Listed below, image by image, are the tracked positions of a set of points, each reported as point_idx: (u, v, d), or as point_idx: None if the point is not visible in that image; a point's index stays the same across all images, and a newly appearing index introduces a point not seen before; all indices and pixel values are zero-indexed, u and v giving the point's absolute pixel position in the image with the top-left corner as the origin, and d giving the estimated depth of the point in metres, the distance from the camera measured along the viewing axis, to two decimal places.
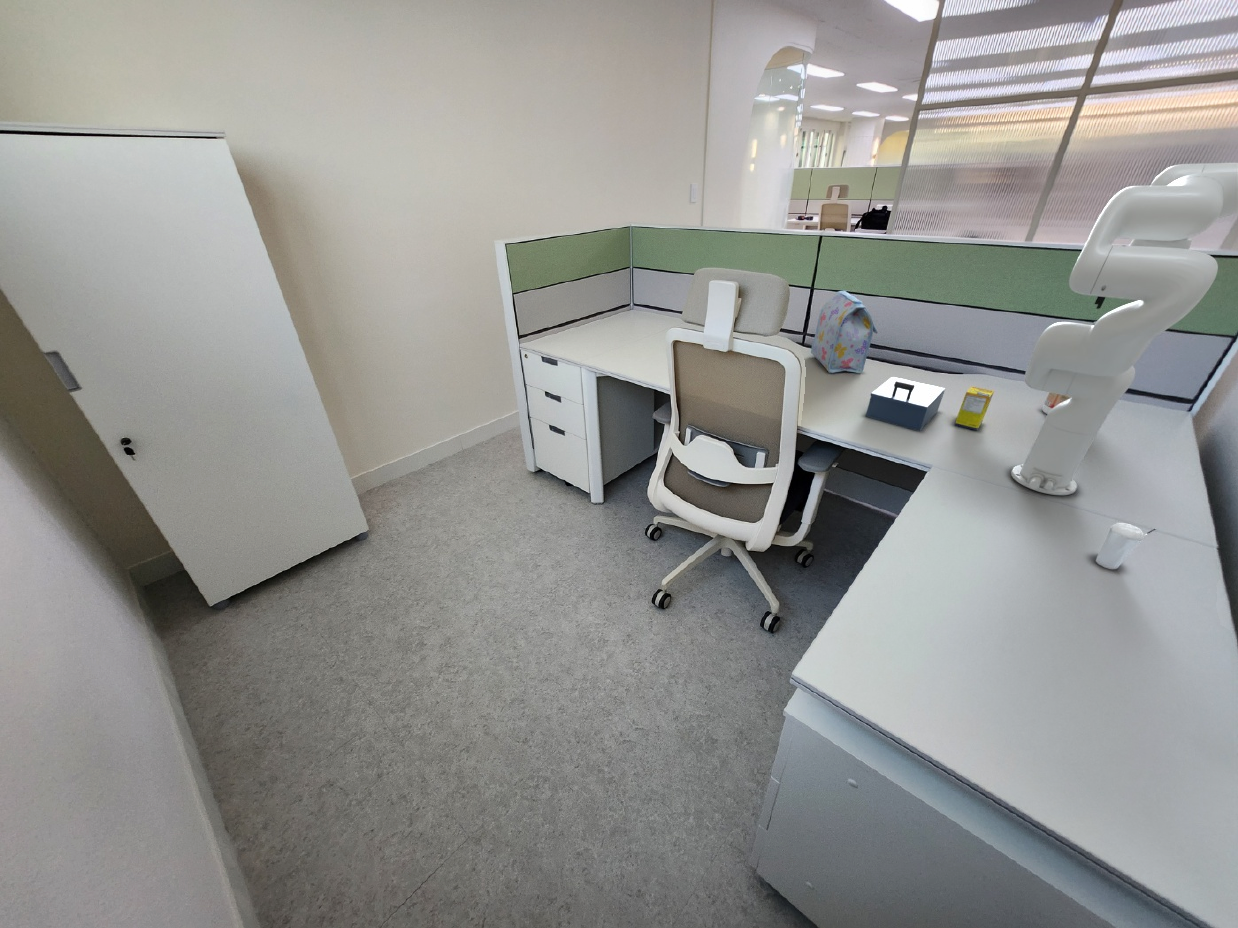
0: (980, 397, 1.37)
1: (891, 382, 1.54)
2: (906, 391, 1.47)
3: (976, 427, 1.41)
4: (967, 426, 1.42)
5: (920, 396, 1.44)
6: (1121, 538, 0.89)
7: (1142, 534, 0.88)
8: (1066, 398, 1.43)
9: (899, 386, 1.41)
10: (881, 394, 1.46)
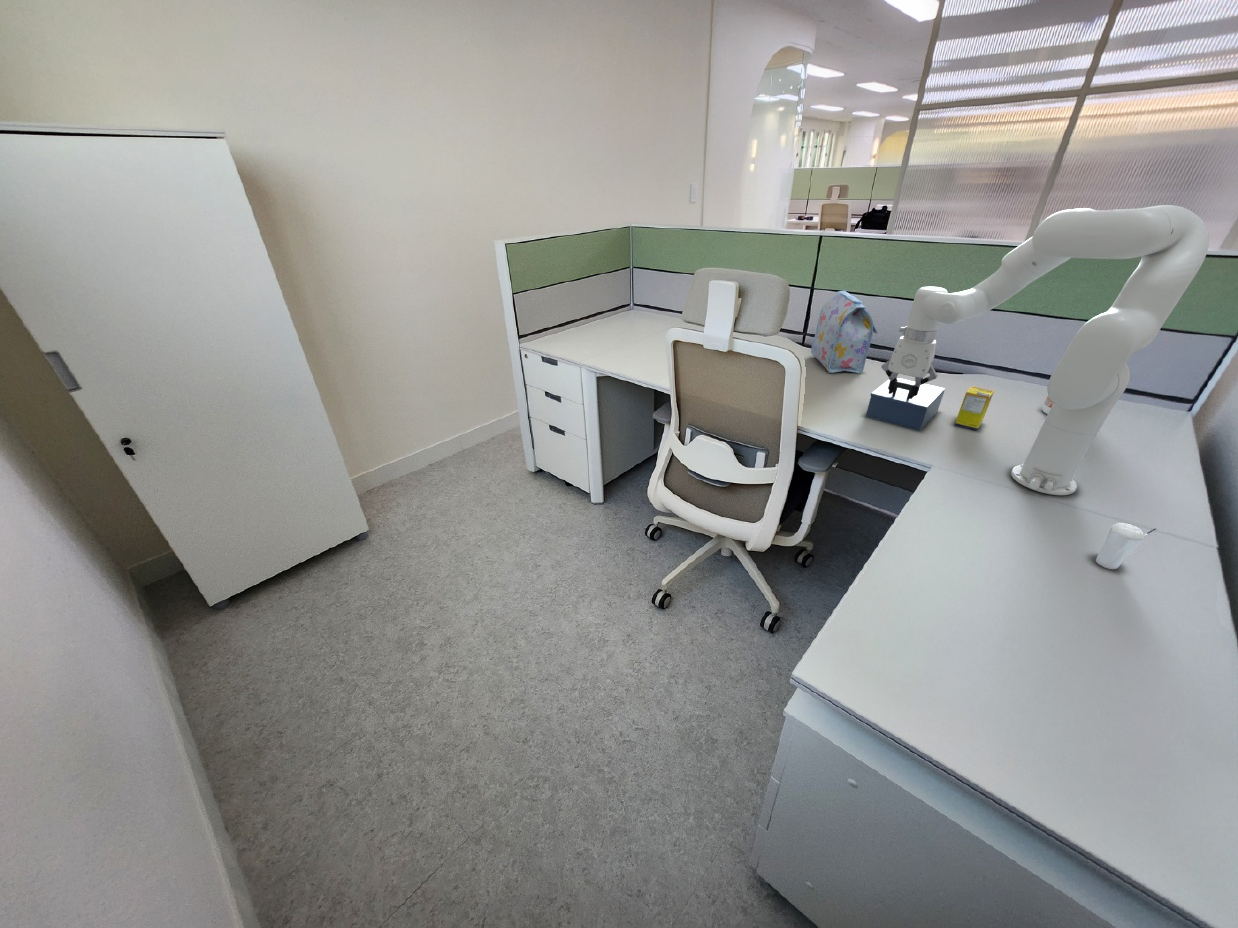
0: (980, 397, 1.37)
1: None
2: (906, 391, 1.47)
3: (976, 427, 1.41)
4: (967, 426, 1.42)
5: (920, 396, 1.44)
6: (1121, 538, 0.89)
7: (1142, 534, 0.88)
8: None
9: (899, 386, 1.41)
10: (881, 394, 1.46)
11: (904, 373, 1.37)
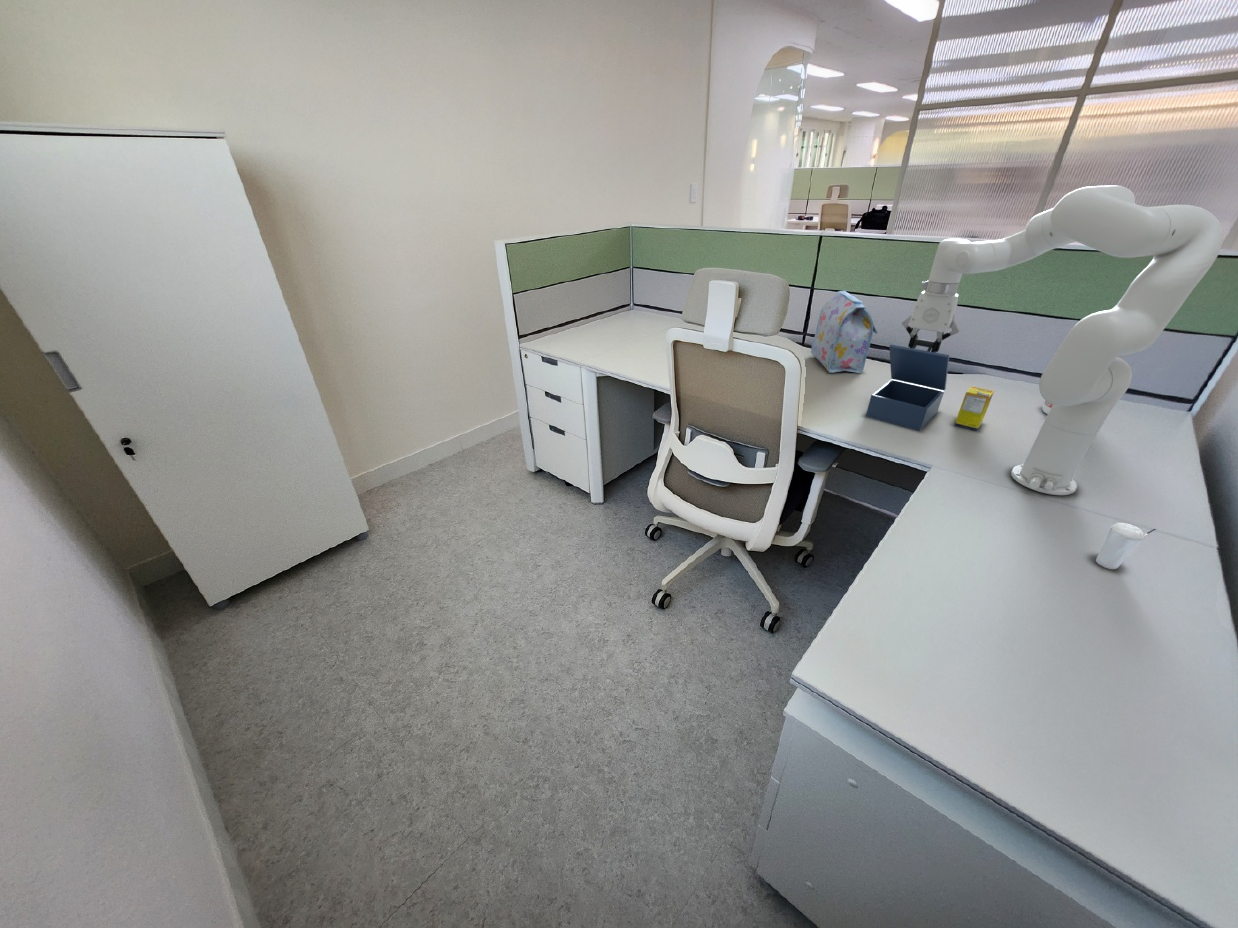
0: (980, 397, 1.37)
1: None
2: None
3: (976, 427, 1.41)
4: (967, 426, 1.42)
5: None
6: (1121, 538, 0.89)
7: (1142, 534, 0.88)
8: None
9: (920, 341, 1.41)
10: None
11: (925, 328, 1.37)
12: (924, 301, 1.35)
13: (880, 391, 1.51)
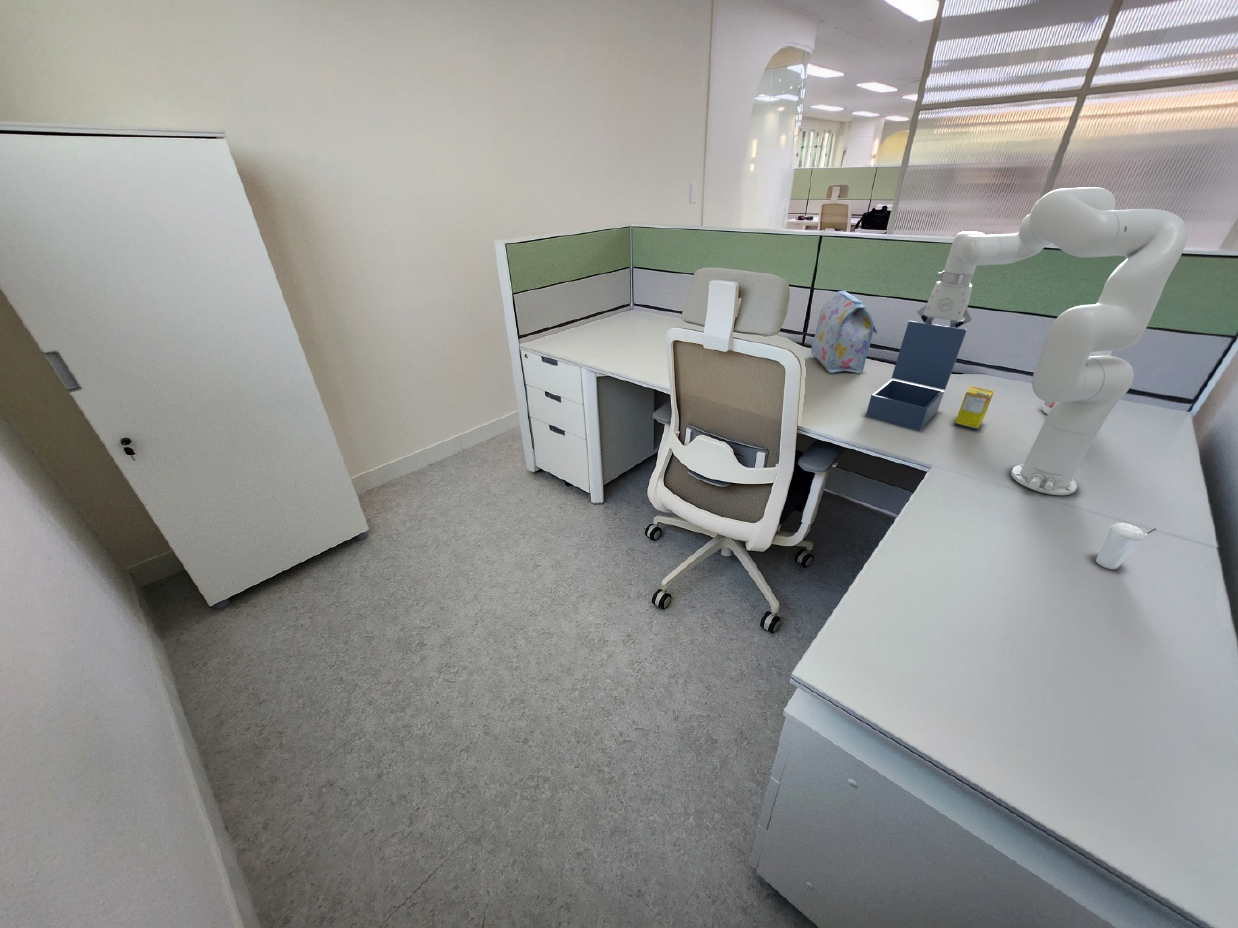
0: (980, 397, 1.37)
1: None
2: None
3: (976, 427, 1.41)
4: (967, 426, 1.42)
5: None
6: (1121, 538, 0.89)
7: (1142, 534, 0.88)
8: None
9: None
10: None
11: (940, 317, 1.45)
12: (939, 291, 1.42)
13: (880, 391, 1.51)
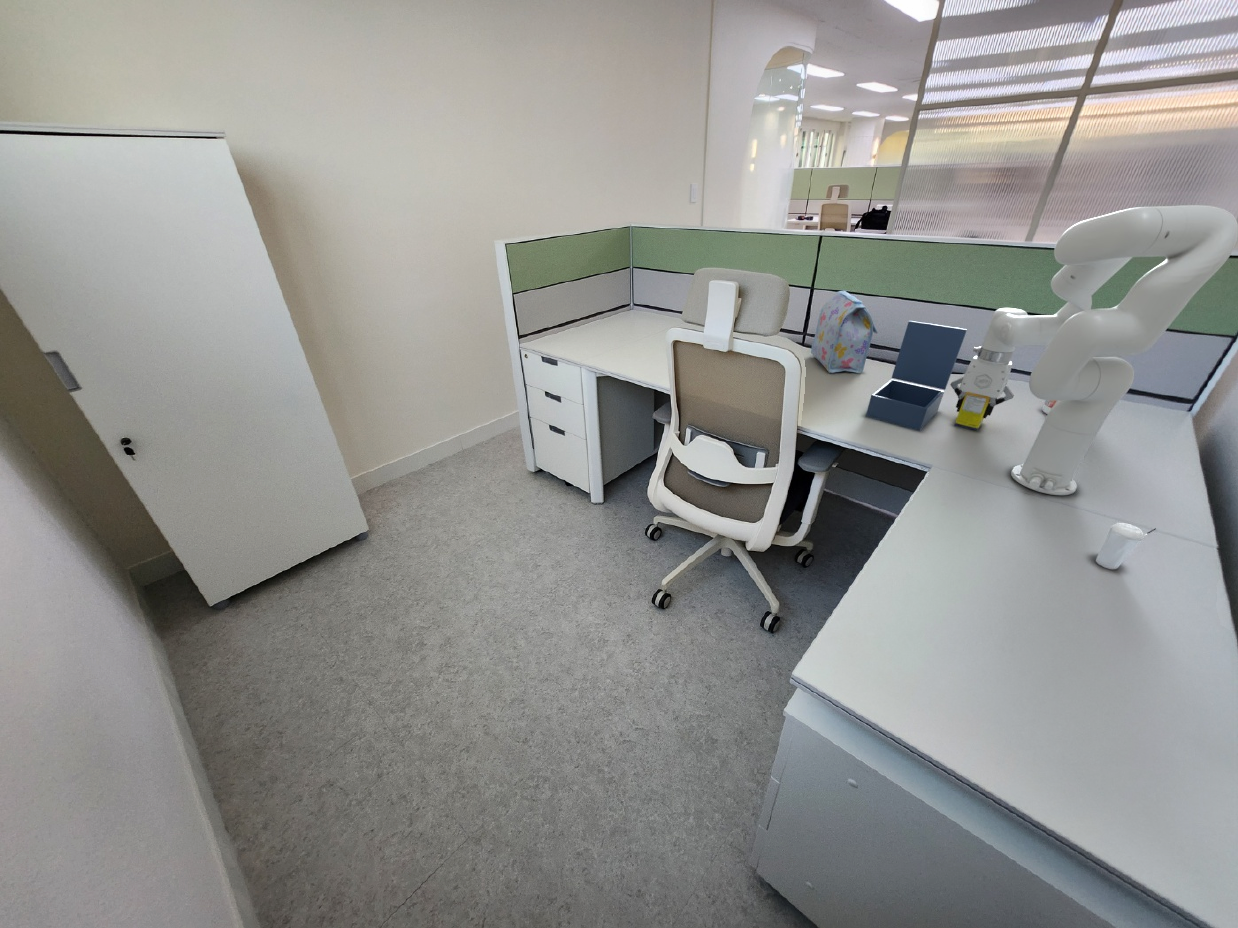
0: (980, 397, 1.37)
1: None
2: None
3: (976, 427, 1.41)
4: (967, 426, 1.42)
5: None
6: (1121, 538, 0.89)
7: (1142, 534, 0.88)
8: None
9: None
10: None
11: (977, 393, 1.37)
12: (976, 367, 1.35)
13: (880, 391, 1.51)
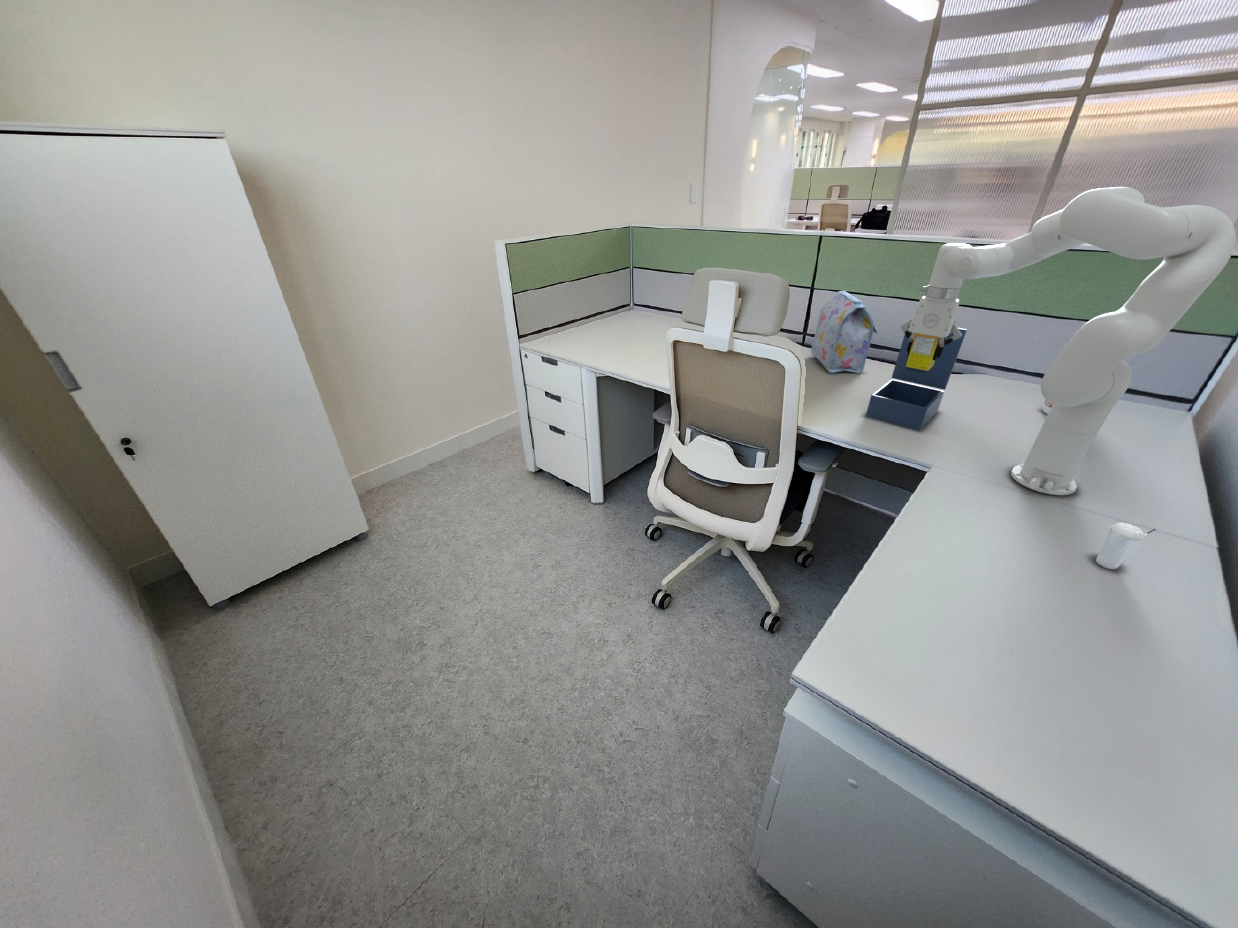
0: (929, 338, 1.35)
1: None
2: None
3: (926, 369, 1.39)
4: (917, 369, 1.40)
5: None
6: (1121, 538, 0.89)
7: (1142, 534, 0.88)
8: None
9: None
10: None
11: (926, 334, 1.35)
12: (924, 306, 1.33)
13: (880, 391, 1.51)
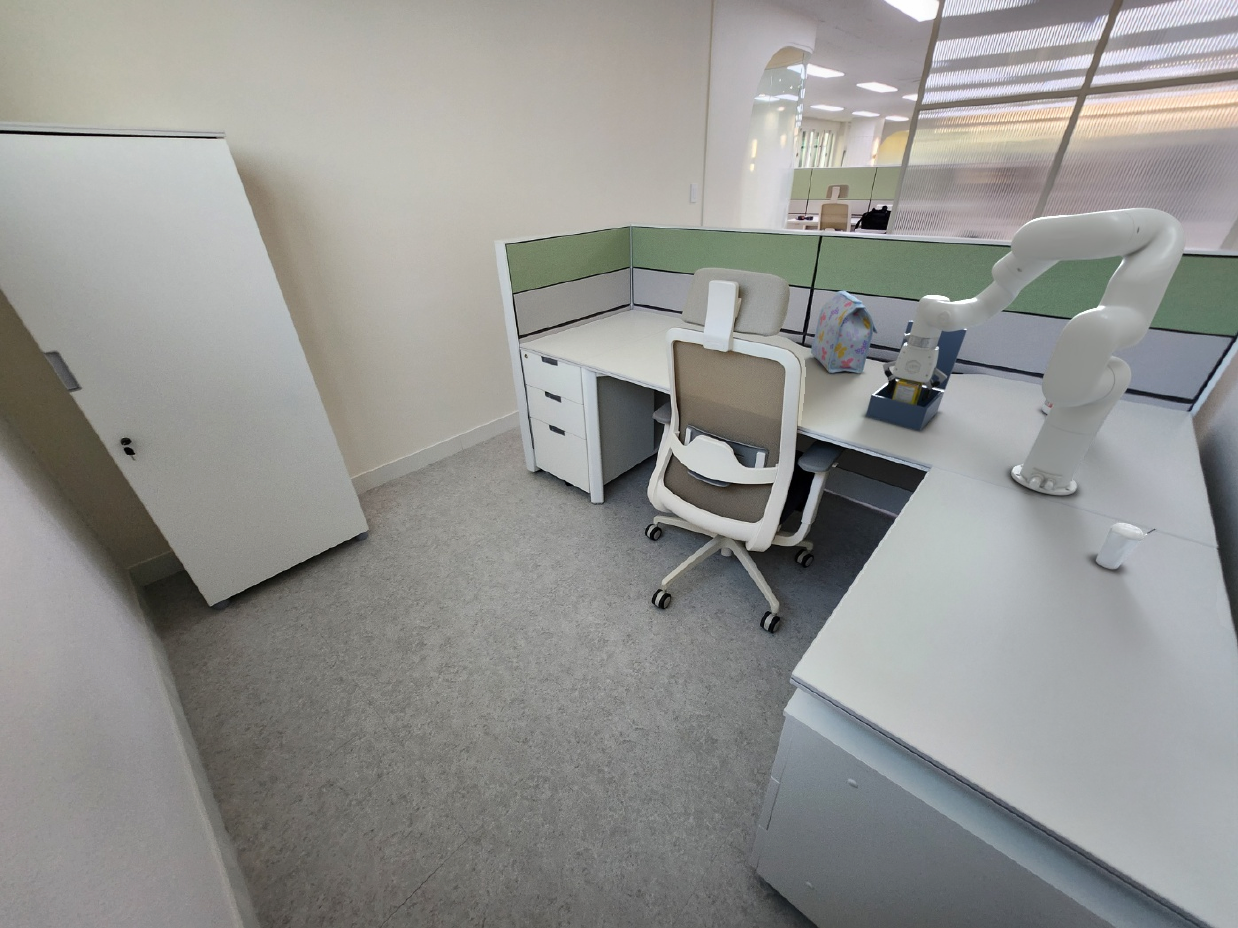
0: (909, 387, 1.43)
1: None
2: None
3: None
4: None
5: None
6: (1121, 538, 0.89)
7: (1142, 534, 0.88)
8: None
9: None
10: None
11: (908, 378, 1.43)
12: (906, 353, 1.40)
13: (880, 391, 1.51)
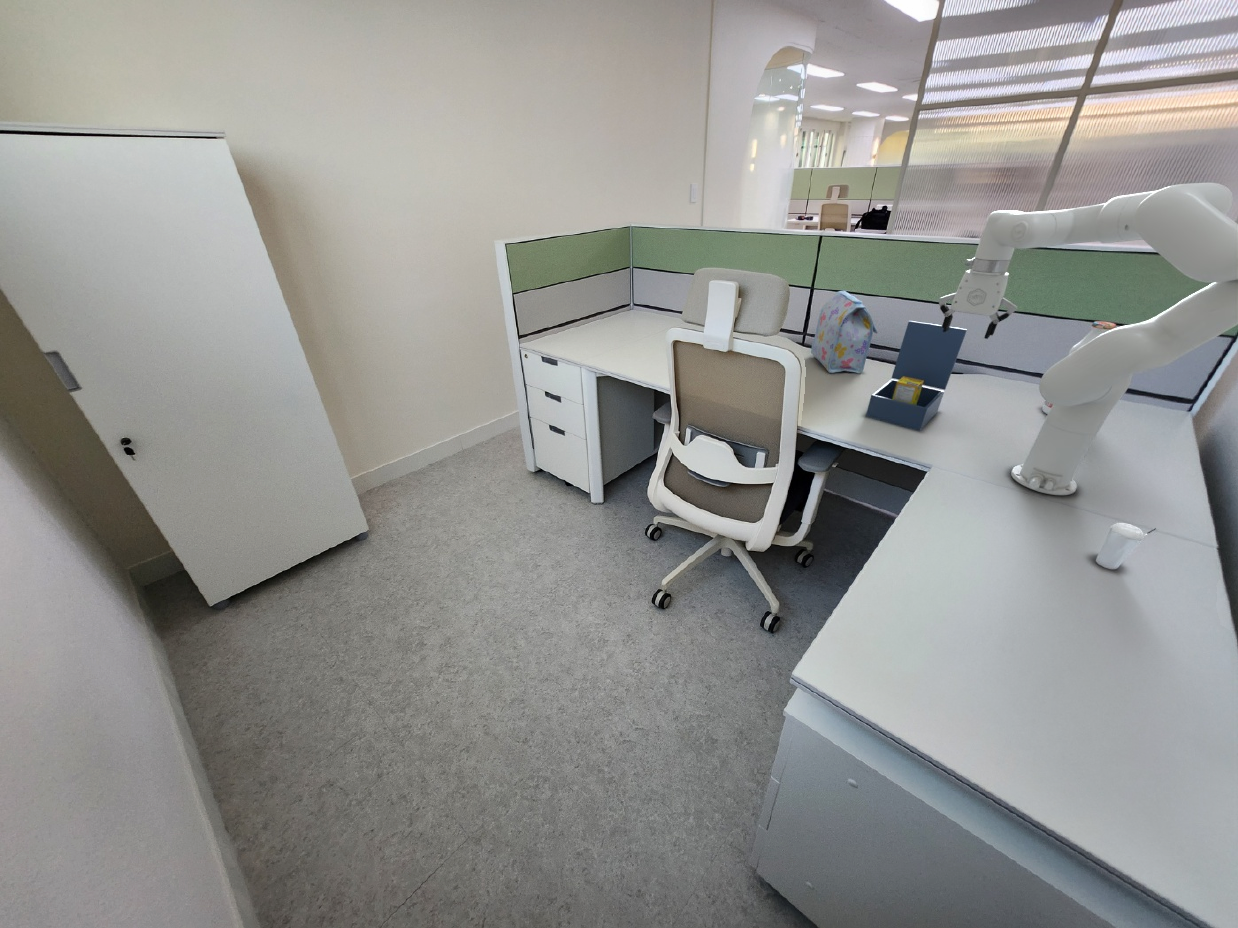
0: (909, 387, 1.43)
1: None
2: None
3: None
4: None
5: None
6: (1121, 538, 0.89)
7: (1142, 534, 0.88)
8: None
9: None
10: None
11: (970, 312, 1.24)
12: (969, 281, 1.22)
13: (880, 391, 1.51)
